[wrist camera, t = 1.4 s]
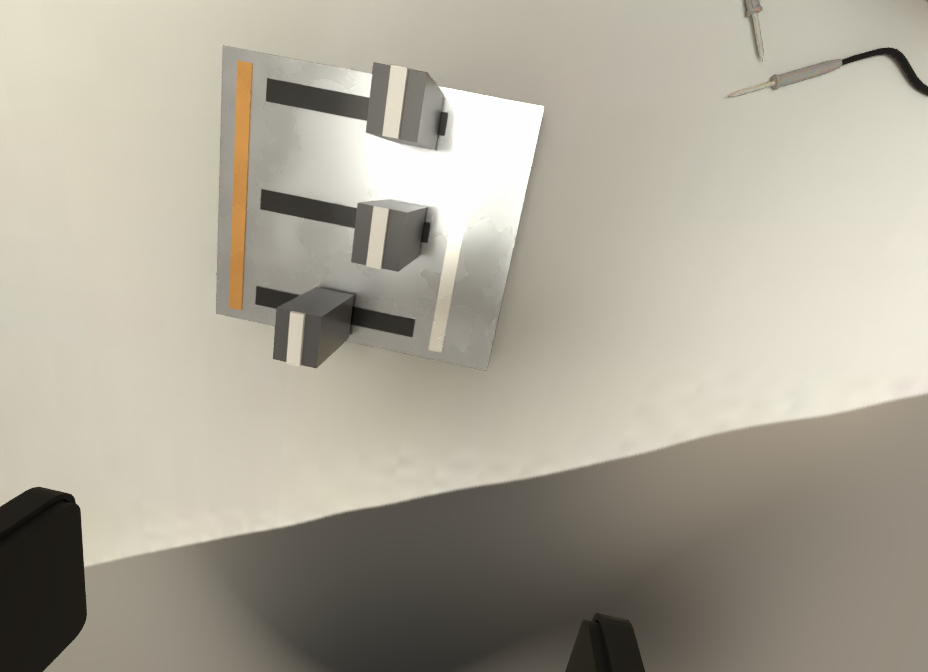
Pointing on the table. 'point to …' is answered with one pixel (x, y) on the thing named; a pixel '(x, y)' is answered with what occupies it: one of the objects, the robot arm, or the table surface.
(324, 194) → the panel
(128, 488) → the table surface
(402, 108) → the block
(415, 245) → the breaker mid
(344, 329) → the breaker far
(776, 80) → the multimeter
